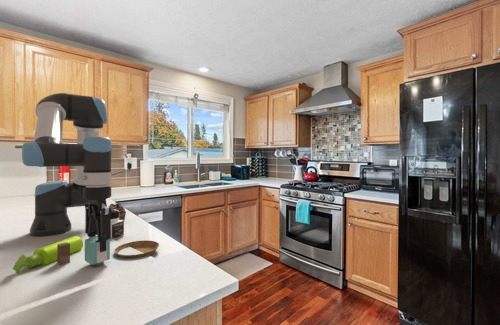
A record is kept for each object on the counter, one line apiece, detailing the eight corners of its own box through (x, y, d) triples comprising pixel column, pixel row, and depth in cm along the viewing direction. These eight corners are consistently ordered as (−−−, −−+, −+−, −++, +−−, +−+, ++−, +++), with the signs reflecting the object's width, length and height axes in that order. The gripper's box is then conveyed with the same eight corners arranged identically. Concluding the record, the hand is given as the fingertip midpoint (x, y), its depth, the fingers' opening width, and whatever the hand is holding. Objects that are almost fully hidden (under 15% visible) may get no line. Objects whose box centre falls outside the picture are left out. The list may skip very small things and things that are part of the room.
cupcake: (129, 221, 134) (129, 203, 134) (111, 225, 126) (111, 205, 126) (120, 218, 139) (120, 201, 139) (102, 222, 131) (102, 203, 131)
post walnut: (57, 265, 78) (57, 244, 78) (67, 263, 80) (67, 241, 80) (60, 268, 76) (60, 245, 76) (70, 265, 79) (70, 243, 78)
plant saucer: (113, 266, 79) (113, 258, 79) (115, 250, 92) (115, 243, 92) (161, 258, 86) (161, 250, 86) (156, 244, 99) (156, 238, 99)
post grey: (91, 267, 77) (91, 245, 77) (100, 264, 79) (100, 243, 79) (94, 270, 75) (94, 247, 75) (103, 267, 77) (103, 245, 77)
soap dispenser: (87, 240, 89) (30, 263, 69) (77, 254, 90) (18, 281, 70) (76, 230, 90) (16, 250, 70) (66, 244, 91) (4, 268, 71)
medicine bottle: (112, 241, 102) (112, 212, 102) (97, 239, 103) (97, 211, 103) (124, 235, 109) (124, 209, 109) (110, 234, 110) (110, 208, 110)
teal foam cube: (84, 260, 76) (84, 239, 76) (102, 255, 81) (102, 235, 81) (91, 264, 73) (91, 243, 73) (109, 259, 78) (109, 238, 77)
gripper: (72, 184, 79) (72, 255, 80) (96, 189, 68) (96, 271, 69) (98, 183, 85) (98, 248, 86) (123, 187, 74) (123, 262, 75)
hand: (97, 258), depth 77 cm, fingers closed on teal foam cube, 5 cm apart
